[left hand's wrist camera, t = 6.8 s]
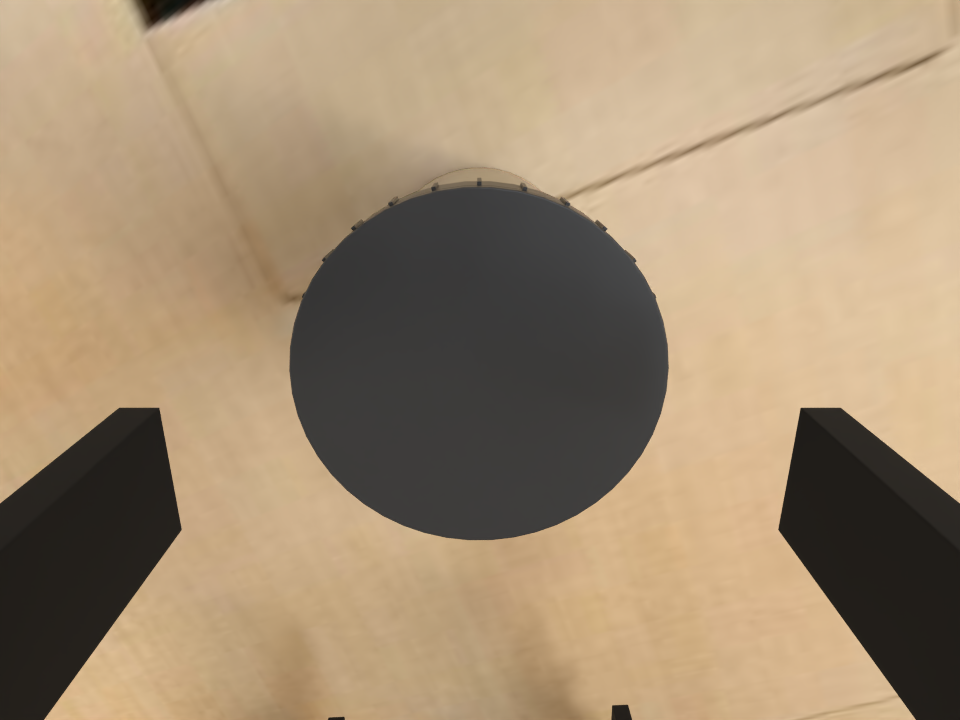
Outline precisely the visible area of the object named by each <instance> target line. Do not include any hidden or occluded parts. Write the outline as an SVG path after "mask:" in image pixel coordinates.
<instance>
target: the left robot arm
mask: <svg viewBox="0 0 960 720" xmlns="http://www.w3.org/2000/svg"><path fill="white" fill-rule="evenodd" d="M181 530H182V529H181V524H180V518H179V513H178V507H177V502H176V497H175V491H174V486H173V480H172V475H171V469H170V464H169V459H168V453H167V448H166V442H165V437H164V431H163V426H162V421H161V415H160V410H159V408H119V409H117V410H116V411H115V412H114V413H112V414H111V415H110V416H109V417H107V418H106V419H105V420H104V421H102V422H101V423H100V424H99V425H97V426H96V427H95V428H94V429H92V430H91V431H90V432H89V433H87V434H86V435H85V436H84V437H82V438H81V439H80V440H79V441H77V442H76V443H75V444H74V445H73V446H71V447H70V448H69V449H68V450H66V451H65V452H64V453H63V454H61V455H60V456H59V457H58V458H56V459H55V460H54V461H53V462H51V463H50V464H49V465H48V466H46V467H45V468H44V469H43V470H41V471H40V472H39V473H38V474H36V475H35V476H34V477H33V478H31V479H30V480H29V481H28V482H26V483H25V484H24V485H23V486H21V487H20V488H19V489H18V490H17V491H15V492H14V493H13V494H12V495H10V496H9V497H8V498H7V499H5V500H4V501H3V502H2V503H0V720H44V719H45V718H46V716H47V715H48V713H49V712H50V711H51V709H52V708H53V707H54V705H55V704H56V702H57V701H58V700H59V698H60V697H61V696H62V694H63V693H64V691H65V690H66V689H67V687H68V686H69V684H70V683H71V682H72V680H73V679H74V678H75V676H76V675H77V673H78V672H79V671H80V669H81V668H82V667H83V665H84V664H85V662H86V661H87V660H88V658H89V657H90V655H91V654H92V653H93V651H94V650H95V649H96V647H97V646H98V644H99V643H100V642H101V640H102V639H103V638H104V636H105V635H106V633H107V632H108V631H109V629H110V628H111V627H112V625H113V624H114V622H115V621H116V620H117V618H118V617H119V615H120V614H121V613H122V611H123V610H124V609H125V607H126V606H127V604H128V603H129V602H130V600H131V599H132V598H133V596H134V595H135V593H136V592H137V591H138V589H139V588H140V586H141V585H142V584H143V582H144V581H145V580H146V578H147V577H148V575H149V574H150V573H151V571H152V570H153V569H154V567H155V566H156V564H157V563H158V562H159V560H160V559H161V558H162V556H163V555H164V553H165V552H166V551H167V549H168V548H169V546H170V545H171V544H172V542H173V541H174V540H175V538H176V537H177V535H178V534H179V533H180V531H181ZM778 530H779V531H780V533H781V534H782V535H783V537H784V538H785V540H786V541H787V542H788V544H789V545H790V546H791V548H792V549H793V551H794V552H795V553H796V555H797V556H798V558H799V559H800V560H801V562H802V563H803V564H804V566H805V567H806V569H807V570H808V571H809V573H810V574H811V575H812V577H813V578H814V580H815V581H816V582H817V584H818V585H819V587H820V588H821V589H822V591H823V592H824V593H825V595H826V596H827V598H828V599H829V600H830V602H831V603H832V604H833V606H834V607H835V609H836V610H837V611H838V613H839V614H840V615H841V617H842V618H843V620H844V621H845V622H846V624H847V625H848V627H849V628H850V629H851V631H852V632H853V633H854V635H855V636H856V638H857V639H858V640H859V642H860V643H861V644H862V646H863V647H864V649H865V650H866V651H867V653H868V654H869V655H870V657H871V658H872V660H873V661H874V662H875V664H876V665H877V667H878V668H879V669H880V671H881V672H882V673H883V675H884V676H885V678H886V679H887V680H888V682H889V683H890V684H891V686H892V687H893V689H894V690H895V691H896V693H897V694H898V696H899V697H900V698H901V700H902V701H903V702H904V704H905V705H906V707H907V708H908V709H909V711H910V712H911V713H912V715H913V716H914V718H915V719H916V720H960V503H958V502H957V501H956V500H955V499H953V498H952V497H951V496H950V495H948V494H947V493H946V492H945V491H943V490H942V489H941V488H940V487H939V486H937V485H936V484H935V483H934V482H932V481H931V480H930V479H929V478H927V477H926V476H925V475H924V474H922V473H921V472H920V471H919V470H917V469H916V468H915V467H914V466H912V465H911V464H910V463H909V462H907V461H906V460H905V459H904V458H902V457H901V456H900V455H899V454H897V453H896V452H895V451H894V450H892V449H891V448H890V447H889V446H887V445H886V444H885V443H884V442H883V441H881V440H880V439H879V438H878V437H876V436H875V435H874V434H873V433H871V432H870V431H869V430H868V429H866V428H865V427H864V426H863V425H861V424H860V423H859V422H858V421H856V420H855V419H854V418H853V417H851V416H850V415H849V414H848V413H846V412H845V411H844V410H843V409H841V408H801V410H800V415H799V421H798V426H797V431H796V437H795V442H794V448H793V453H792V459H791V464H790V469H789V475H788V480H787V486H786V491H785V497H784V502H783V507H782V513H781V518H780V524H779V529H778Z"/></svg>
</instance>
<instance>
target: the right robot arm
mask: <svg viewBox="0 0 960 720" xmlns="http://www.w3.org/2000/svg"><path fill="white" fill-rule="evenodd" d="M328 720H345V718H344V717H332V718H328ZM612 720H632V718H631V714H630V711H629V707H628V705H613V706H612Z"/></svg>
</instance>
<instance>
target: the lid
mask: <svg viewBox="0 0 960 720" xmlns="http://www.w3.org/2000/svg"><path fill="white" fill-rule="evenodd" d="M388 204H389V205H387V206H386V207H384V208H383V209H381V210H379V211H378V212H376V213H374V214H373V215H372V216H370V217H369V218H368V219H367V220H366V221H364V222H363V221H362V220H360V221H359V222H358V223H357V224H355V225H354V226H353V227H352V228H351V229H352V230H353V232H351V233H350V234H349V235H348V236H347V237H346V238H345V239H344V240H343V241H342V242H341V243H340V244H339V245H338V246H337V247H336V248H335V249H334V250H332V251H331V252H329V253H328V254H327V255H326V256H325V257H324V258H323V259H322V261H323V264H322V265H321V267H320V268H319V270H318V271H317V273H316V274H315V276H314V277H313V279H312V281H311V283H310V285H309V287H308V289H307V291H306V292H305V293H304V294H303V296H302V298H303V299H302V301H301V304H300V307H299V310H298V313H297V317H296V320H295V323H294V328H293V333H292V339H291V345H290V379H291V387H292V395H293V398H294V402H295V406H296V410H297V414H298V417H299V419H300V422H301V424H302V427H303V429H304V432H305V434H306V437H307V438H308V440H309V442H310V444H311V445H312V447H313V449H314V451H315V452H316V454H317V456H318V457H319V459H320V460H321V461H322V463H323V464H324V465H325V467H326V468H327V469H328V470H329V472H330V473H331V474H332V475H333V476H334V477H335V478H336V480H337V481H338V482H339V483H340V484H341V485H342V486H343V487H344V488H345V489H346V490H347V491H349V492H350V493H351V494H352V495H354V496H355V497H356V498H357V499H359V500H360V501H361V502H362V503H363V504H365V505H366V506H368V507H370V508H371V509H373V510H374V511H376V512H378V513H379V514H381V515H382V516H384V517H386V518H389V519H391V520H393V521H395V522H397V523H399V524H401V525H403V526H406V527H409V528H412V529H415V530H418V531H421V532H424V533H428V534H432V535H437V536H441V537H446V538H455V539H464V540H495V539H503V538H512V537H517V536H521V535H526V534H530V533H534V532H538V531H541V530H543V529H546V528H549V527H552V526H555V525H557V524H559V523H561V522H563V521H565V520H568V519H570V518H572V517H574V516H576V515H578V514H579V513H581V512H582V511H584V510H585V509H587V508H588V507H590V506H592V505H593V504H595V503H596V502H597V501H599V500H600V499H601V498H602V497H603V496H605V495H606V494H607V493H608V492H609V491H611V490H612V489H613V488H614V487H615V486H616V485H617V484H618V483H619V482H620V481H621V480H622V479H623V478H624V476H625V475H626V474H627V473H628V472H629V471H630V470H631V468H632V467H633V465H634V464H635V463H636V461H637V460H638V459H639V457H640V456H641V455H642V453H643V451H644V449H645V447H646V446H647V444H648V442H649V440H650V438H651V437H652V435H653V432H654V430H655V427H656V425H657V422H658V419H659V417H660V414H661V411H662V407H663V403H664V398H665V394H666V389H667V379H668V369H669V366H668V344H667V339H666V334H665V328H664V323H663V319H662V316H661V313H660V310H659V308H658V305H657V302H656V299H655V298H656V296H655V294H654V293H653V292H652V291H651V289H650V287H649V285H648V283H647V281H646V279H645V277H644V276H643V274H642V273H641V271H640V270H639V268H638V267H637V266H636V264H635V262H636V260H635V258H634V257H633V256H632V255H631V254H629V253H628V252H627V251H626V250H625V251H624V249H623V248H622V247H621V246H620V245H619V244H618V243H617V242H616V241H615V240H614V239H613V238H612V237H611V236H610V235H609V234H608V233H607V232H606V230H607V228H606V227H605V226H604V225H603V224H601V223H600V222H599V221H598V220H597V221H596V222H594V221H592V220H591V219H590V218H589V217H587V216H586V215H585V214H584V213H582V212H581V211H579V210H577V209H576V208H574V207H572V206H570V203H569V202H568V201H567V200H566V199H565V198H563V197H561V199H557V198H555V197H553V196H550V195H548V194H546V193H543V192H541V191H538V190H534V189H531V188H527V186H526V185H525V183H521V184H520V185H516V184H509V183H501V182H493V181H482V179H481V178H477V181H464V182H457V183H450V184H443V185H439V184H438V182H437V183H434V184H433V185H432V187H431V188H427V189H424V190H420V191H417V192H414V193H412V194H410V195H408V196H405V197H403V198H401V199H398V197H395V198H393V199H392V200H391V201H390V202H389V203H388Z"/></svg>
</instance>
